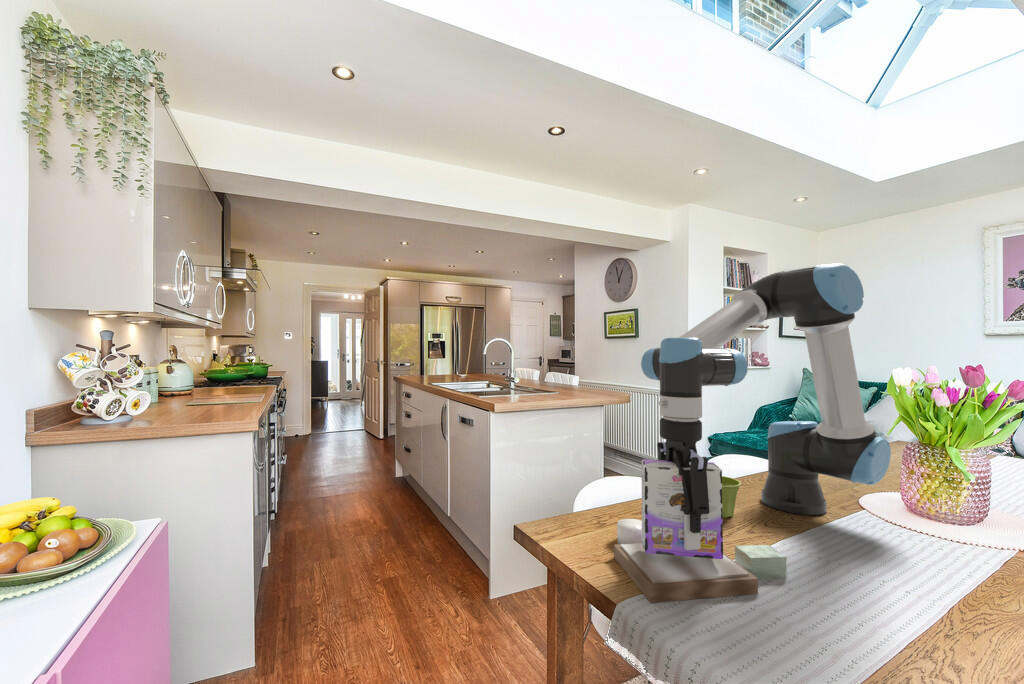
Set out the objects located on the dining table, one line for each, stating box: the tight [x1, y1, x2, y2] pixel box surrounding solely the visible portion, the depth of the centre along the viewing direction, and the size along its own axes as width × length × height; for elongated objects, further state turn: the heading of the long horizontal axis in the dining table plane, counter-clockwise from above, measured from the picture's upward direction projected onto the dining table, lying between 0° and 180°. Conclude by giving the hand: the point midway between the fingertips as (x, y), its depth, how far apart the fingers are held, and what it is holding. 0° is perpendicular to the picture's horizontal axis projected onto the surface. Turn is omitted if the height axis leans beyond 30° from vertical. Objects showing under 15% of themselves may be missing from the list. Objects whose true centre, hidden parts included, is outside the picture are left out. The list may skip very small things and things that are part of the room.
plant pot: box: [722, 475, 742, 519], centre depth 112 cm, size 9×9×9 cm
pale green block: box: [734, 544, 788, 579], centre depth 83 cm, size 7×5×4 cm
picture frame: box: [613, 543, 759, 604], centre depth 82 cm, size 20×16×3 cm
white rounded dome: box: [616, 518, 642, 544], centre depth 95 cm, size 7×7×4 cm
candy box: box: [641, 458, 724, 559], centre depth 82 cm, size 14×6×16 cm, turn 79°
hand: (680, 539), depth 82 cm, fingers closed on candy box, 7 cm apart
